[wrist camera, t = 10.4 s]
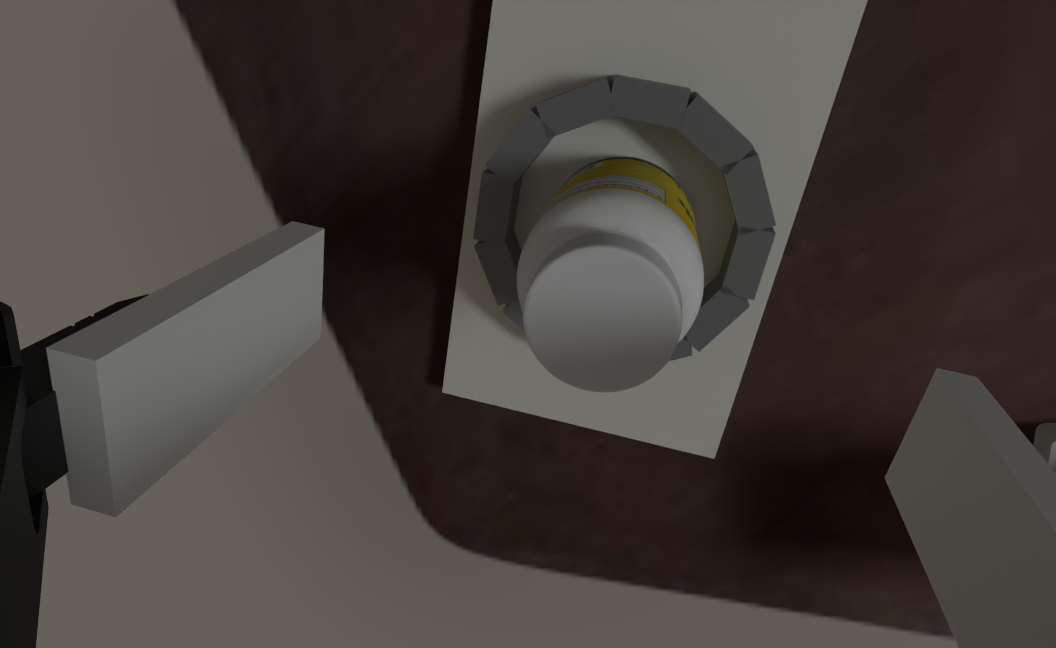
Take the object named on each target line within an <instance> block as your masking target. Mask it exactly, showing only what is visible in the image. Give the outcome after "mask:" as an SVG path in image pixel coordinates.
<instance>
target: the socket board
mask: <svg viewBox="0 0 1056 648" xmlns="http://www.w3.org/2000/svg"><path fill="white" fill-rule="evenodd" d="M866 3H867V0H493V3H492V11H491V18H490V26H489V34H488V42H487V49H486V57H485V65H484V73H483V80H482V88H481V96H480V103H479V111H478V119H477V127H476V134H475V142H474V150H473V158H472V165H471V173H470V181H469V189H468V196H467V204H466V212H465V219H464V227H463V235H462V243H461V250H460V258H459V266H458V274H457V281H456V289H455V297H454V305H453V312H452V320H451V328H450V335H449V343H448V351H447V359H446V366H445V374H444V382H443V390H442V392H443V393H447V394H451V395H455V396H459V397H463V398H467V399H472V400H476V401H480V402H484V403H488V404H492V405H496V406H500V407H504V408H508V409H512V410H517V411H521V412H525V413H529V414H533V415H537V416H541V417H545V418H549V419H553V420H558V421H562V422H566V423H570V424H574V425H578V426H582V427H586V428H590V429H594V430H598V431H603V432H607V433H611V434H615V435H619V436H623V437H627V438H631V439H635V440H639V441H643V442H648V443H652V444H656V445H660V446H664V447H668V448H672V449H676V450H680V451H684V452H689V453H693V454H697V455H701V456H705V457H709V458H713V459H714V458H715V455H716V452H717V449H718V446H719V443H720V440H721V437H722V434H723V431H724V428H725V425H726V423H727V420H728V417H729V414H730V411H731V408H732V405H733V402H734V399H735V396H736V393H737V390H738V387H739V384H740V381H741V378H742V375H743V372H744V369H745V366H746V363H747V360H748V357H749V354H750V351H751V348H752V345H753V342H754V339H755V336H756V333H757V330H758V327H759V324H760V321H761V318H762V315H763V312H764V309H765V306H766V303H767V300H768V297H769V294H770V291H771V288H772V285H773V282H774V279H775V276H776V273H777V270H778V267H779V264H780V261H781V258H782V255H783V252H784V249H785V246H786V243H787V240H788V237H789V234H790V231H791V228H792V225H793V222H794V219H795V216H796V213H797V210H798V207H799V204H800V201H801V198H802V195H803V192H804V189H805V186H806V183H807V180H808V177H809V174H810V171H811V168H812V165H813V162H814V159H815V156H816V153H817V150H818V147H819V144H820V141H821V138H822V135H823V132H824V129H825V126H826V123H827V120H828V117H829V114H830V111H831V108H832V105H833V102H834V99H835V96H836V93H837V90H838V87H839V84H840V81H841V78H842V75H843V72H844V69H845V66H846V63H847V60H848V57H849V54H850V51H851V48H852V45H853V42H854V39H855V36H856V33H857V30H858V27H859V24H860V21H861V18H862V15H863V12H864V9H865V6H866ZM615 156H629V157H636V158H641V159H644V160H647V161H650V162H652V163H654V164H656V165H658V166H660V167H662V168H663V169H665V170H666V171H667V172H668V173H670V174H671V175H672V176H673V177H674V178H675V179H676V180H677V181H678V182H679V184H680V185H681V186H682V188H683V189H684V191H685V193H686V195H687V197H688V199H689V201H690V204H691V206H692V210H693V213H694V218H695V224H696V230H697V235H698V239H699V246H700V251H701V255H702V261H703V269H704V289H703V297H702V302H701V305H700V309H699V312H698V314H697V316H696V318H695V320H694V322H693V324H692V326H691V328H690V329H689V331H688V332H687V334H686V335H685V336H684V337H683V339H682V340H681V341H680V342H679V343H678V344H677V347H676V349H675V351H674V353H673V355H672V356H671V358H670V360H669V361H668V362H667V364H666V365H665V366H664V367H663V368H662V369H661V370H660V371H659V372H658V373H657V374H656V375H655V376H653V377H652V378H650V379H649V380H648V381H646V382H644V383H642V384H640V385H638V386H635V387H633V388H630V389H627V390H623V391H617V392H605V393H604V392H592V391H586V390H582V389H579V388H576V387H573V386H571V385H569V384H567V383H565V382H563V381H561V380H559V379H558V378H556V377H555V376H553V375H552V374H551V373H550V372H549V371H548V370H547V369H546V368H544V366H543V365H542V364H541V363H540V362H539V361H538V359H537V358H536V357H535V355H534V353H533V352H532V350H531V348H530V346H529V344H528V341H527V338H526V335H525V331H524V326H523V312H522V309H521V306H520V302H519V298H518V292H517V269H518V262H519V259H520V255H521V252H522V249H523V247H524V244H525V242H526V240H527V238H528V236H529V234H530V232H531V231H532V229H533V228H534V226H535V225H536V223H537V222H538V220H539V219H540V218H541V216H542V215H543V213H544V212H545V210H546V209H547V207H548V206H549V204H550V203H551V201H552V200H553V198H554V197H555V195H556V194H557V192H558V191H559V189H560V188H561V187H562V186H563V184H564V183H565V182H566V181H567V180H568V179H569V178H570V177H571V176H572V175H573V174H574V173H575V172H577V171H578V170H579V169H581V168H583V167H584V166H586V165H587V164H590V163H592V162H594V161H597V160H600V159H603V158H608V157H615Z"/></svg>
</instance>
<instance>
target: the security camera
mask: <svg viewBox="0 0 1056 648" xmlns="http://www.w3.org/2000/svg"><path fill="white" fill-rule="evenodd" d="M1033 446H1034V447H1035V449H1036V450H1037V451H1038V452H1039V454H1040V455H1041V456H1042V457H1043V458H1044V460H1045V461H1046V462H1047V463H1048V464H1049V466H1050V467H1051V468H1052V469H1053V471H1054V472H1055V473H1056V423H1042V424H1040V425H1038V426H1037V428H1036V430H1035V437H1034V444H1033Z"/></svg>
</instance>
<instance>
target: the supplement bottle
mask: <svg viewBox="0 0 1056 648" xmlns="http://www.w3.org/2000/svg"><path fill="white" fill-rule="evenodd" d="M703 289H704V269H703V261H702V255H701V251H700V246H699V239H698V235H697V230H696V224H695V218H694V213H693V210H692V206H691V204H690V201H689V199H688V197H687V195H686V193H685V191H684V189H683V188H682V186H681V185H680V184H679V182H678V181H677V180H676V179H675V178H674V177H673V176H672V175H671V174H670V173H668V172H667V171H666V170H665V169H663V168H662V167H660V166H658V165H656V164H654V163H652V162H650V161H647V160H644V159H641V158H636V157H629V156H615V157H608V158H603V159H600V160H597V161H594V162H592V163H590V164H587V165H586V166H584V167H583V168H581V169H579V170H578V171H577V172H575V173H574V174H573V175H572V176H571V177H570V178H569V179H568V180H567V181H566V182H565V183H564V184H563V186H562V187H561V188H560V189H559V191H558V192H557V194H556V195H555V197H554V198H553V200H552V201H551V203H550V204H549V206H548V207H547V209H546V210H545V212H544V213H543V215H542V216H541V218H540V219H539V220H538V222H537V223H536V225H535V226H534V228H533V229H532V231H531V232H530V234H529V236H528V238H527V240H526V242H525V244H524V247H523V249H522V252H521V255H520V259H519V262H518V269H517V292H518V298H519V302H520V306H521V309H522V312H523V326H524V331H525V335H526V338H527V341H528V344H529V346H530V348H531V350H532V352H533V353H534V355H535V357H536V358H537V359H538V361H539V362H540V363H541V364H542V365H543V366H544V368H546V369H547V370H548V371H549V372H550V373H551V374H552V375H553V376H555V377H556V378H558V379H559V380H561V381H563V382H565V383H567V384H569V385H571V386H573V387H576V388H579V389H582V390H586V391H592V392H604V393H605V392H617V391H623V390H627V389H630V388H633V387H635V386H638V385H640V384H642V383H644V382H646V381H648V380H649V379H650V378H652V377H653V376H655V375H656V374H657V373H658V372H659V371H660V370H661V369H662V368H663V367H664V366H665V365H666V364H667V362H668V361H669V360H670V358H671V356H672V355H673V353H674V351H675V349H676V347H677V344H678V343H679V342H680V341H681V340H682V339H683V337H684V336H685V335H686V334H687V332H688V331H689V329H690V328H691V326H692V324H693V322H694V320H695V318H696V316H697V314H698V312H699V309H700V305H701V302H702V297H703Z"/></svg>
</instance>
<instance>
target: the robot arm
mask: <svg viewBox="0 0 1056 648" xmlns="http://www.w3.org/2000/svg"><path fill="white" fill-rule="evenodd" d="M323 258H324V228H320V227H315V226H311V225H307V224H302V223H298V222H293V221H292V222H290V223H288V224H286V225H284V226H282V227H281V228H279V229H277V230H275V231H273V232H271V233H269V234H267V235H265V236H263V237H261V238H259V239H257V240H255V241H253V242H251V243H250V244H248V245H246V246H244V247H242V248H240V249H238V250H236V251H234V252H232V253H230V254H228V255H226V256H224V257H222V258H220V259H218V260H217V261H214V262H212V263H210V264H209V265H207V266H205V267H203V268H201V269H199V270H197V271H195V272H193V273H191V274H189V275H188V276H185V277H183V278H181V279H179V280H177V281H175V282H173V283H171V284H169V285H168V286H166V287H164V288H162V289H160V290H158V291H156V292H154V293H152V294H150V295H149V294H147V295H143V296H139V297H135V298H131V299H128V300H124V301H120V302H117V303H115V304H113V305H111V306H109V307H107V308H105V309H103V310H101V311H99V312H97V313H95V314H94V316H93V317H92V316H89V317H87V318H85V319H83V320H80V321H79V322H76V323H75V326H68V327H66V328H65V329H62V330H60V331H58V332H56V333H55V334H52V335H50V336H48V337H46V338H44V339H42V340H40V341H38V342H36V343H34V344H32V345H30V346H28V347H26V348H24V349H22V350H20V346H19V341H18V335H17V330H16V324H15V319H14V314H13V311H12V308H11V307H10V306H8V305H6V304H4V303H2V302H0V648H36V639H37V628H38V616H39V606H40V594H41V584H42V572H43V561H44V551H45V540H46V528H47V518H48V501H47V496H46V491H45V489H46V488H47V487H48V486H50V485H51V484H52V483H54V482H55V481H56V480H58V479H59V478H61V477H62V476H63V475H65V474H67V480H68V487H69V493H70V499H71V504H72V505H76V506H79V507H82V508H86V509H89V510H93V511H96V512H100V513H103V514H107V515H110V516H113V517H117V516H118V515H119V514H120V513H121V512H122V511H123V510H125V509H126V508H127V507H128V506H129V505H130V504H131V503H133V502H134V501H135V500H136V499H137V498H138V497H139V496H141V495H142V494H143V493H144V492H145V491H146V490H148V488H150V487H151V486H152V485H153V484H154V483H156V482H157V481H158V480H159V479H160V478H161V477H162V476H163V475H165V474H166V473H167V472H168V471H169V470H170V469H172V468H173V467H174V466H175V465H176V464H177V463H178V462H180V461H181V460H182V459H183V458H184V457H185V456H186V455H188V454H189V453H190V452H191V451H192V450H193V449H194V448H196V447H197V446H198V445H199V444H200V443H201V442H202V441H204V440H205V439H206V438H207V437H208V436H209V435H210V434H211V433H213V432H214V431H215V430H216V429H217V428H218V427H220V426H221V425H222V424H223V423H224V422H225V421H226V420H228V419H229V418H230V417H231V416H232V415H233V414H234V413H236V412H237V411H238V410H239V409H240V408H241V407H242V406H244V405H245V404H246V403H247V402H248V401H249V400H250V399H252V398H253V397H254V396H255V395H256V394H257V393H258V392H260V391H261V390H262V389H263V388H264V387H265V386H266V385H268V384H269V383H270V382H271V381H272V380H273V379H274V378H276V377H277V376H278V375H279V374H280V373H281V372H282V371H284V370H285V369H286V368H287V367H288V366H289V365H290V364H292V363H293V362H294V361H295V360H296V359H297V358H298V357H300V356H301V355H302V354H303V353H304V352H305V351H306V350H308V349H309V348H310V347H311V346H312V345H313V344H314V343H316V342H317V341H318V340H319V339H320V338H321V318H322V288H323ZM885 480H886V482H887V485H888V487H889V489H890V492H891V494H892V496H893V498H894V501H895V503H896V505H897V508H898V510H899V512H900V514H901V517H902V519H903V521H904V524H905V526H906V528H907V530H908V533H909V535H910V537H911V540H912V542H913V544H914V546H915V549H916V551H917V553H918V556H919V558H920V560H921V562H922V565H923V567H924V569H925V572H926V574H927V576H928V578H929V581H930V583H931V585H932V588H933V590H934V592H935V594H936V597H937V599H938V601H939V604H940V606H941V608H942V610H943V613H944V615H945V617H946V620H947V622H948V624H949V626H950V629H951V631H952V633H953V636H954V638H955V640H956V642H957V645H958V647H959V648H1056V473H1055V472H1054V471H1053V469H1052V468H1051V467H1050V466H1049V464H1048V463H1047V462H1046V461H1045V460H1044V458H1043V457H1042V456H1041V455H1040V454H1039V452H1038V451H1037V450H1036V449H1035V447H1034V446H1033V445H1032V444H1031V443H1030V441H1029V440H1028V439H1027V438H1026V436H1025V435H1024V434H1023V433H1022V432H1021V430H1020V429H1019V428H1018V427H1017V425H1016V424H1015V423H1014V422H1013V421H1012V419H1011V418H1010V417H1009V416H1008V414H1007V413H1006V412H1005V411H1004V410H1003V408H1002V407H1001V406H1000V405H999V404H998V402H997V401H996V400H995V399H994V397H993V396H992V395H991V394H990V393H989V391H988V390H987V389H986V388H985V386H984V385H983V384H982V383H981V382H980V380H979V379H978V378H977V377H974V376H969V375H965V374H961V373H956V372H952V371H947V370H943V369H939V368H937V369H936V371H935V373H934V375H933V377H932V379H931V382H930V384H929V386H928V388H927V390H926V392H925V394H924V396H923V398H922V400H921V402H920V405H919V407H918V409H917V411H916V413H915V415H914V417H913V419H912V421H911V423H910V425H909V428H908V430H907V432H906V434H905V436H904V438H903V440H902V442H901V444H900V446H899V448H898V451H897V453H896V455H895V457H894V459H893V461H892V463H891V465H890V467H889V469H888V472H887V474H886V476H885Z"/></svg>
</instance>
